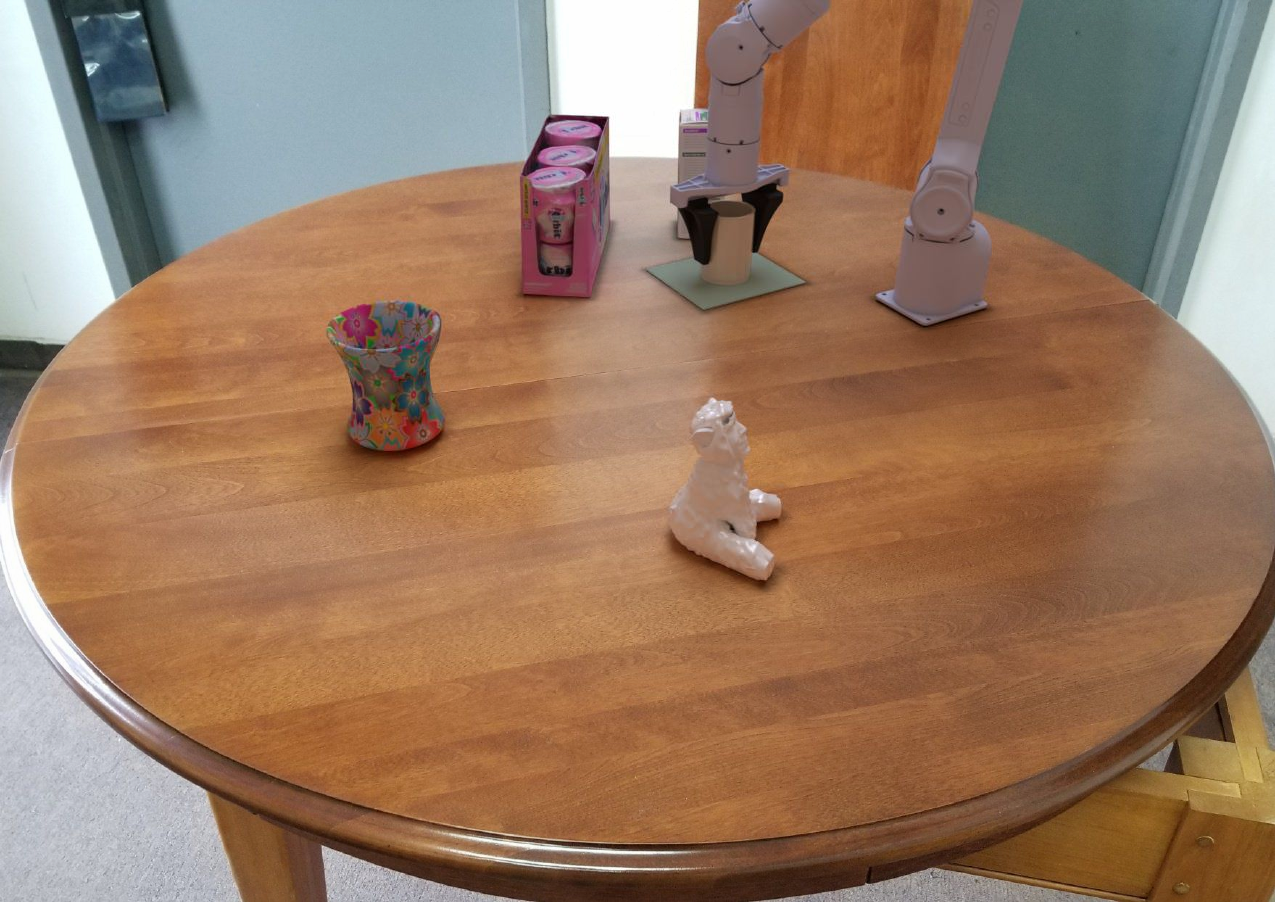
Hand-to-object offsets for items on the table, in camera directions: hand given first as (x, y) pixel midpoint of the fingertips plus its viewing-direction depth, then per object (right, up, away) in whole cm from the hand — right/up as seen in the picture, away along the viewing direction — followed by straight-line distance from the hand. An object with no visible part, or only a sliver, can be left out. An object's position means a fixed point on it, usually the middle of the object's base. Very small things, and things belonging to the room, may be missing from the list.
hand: (726, 255), depth 122 cm
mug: (-31, -20, -25) cm, 45 cm away
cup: (0, -2, +1) cm, 2 cm away
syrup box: (-2, +5, +13) cm, 14 cm away
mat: (0, -2, +1) cm, 3 cm away
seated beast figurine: (-4, -29, -39) cm, 49 cm away
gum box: (-18, +1, +6) cm, 19 cm away
